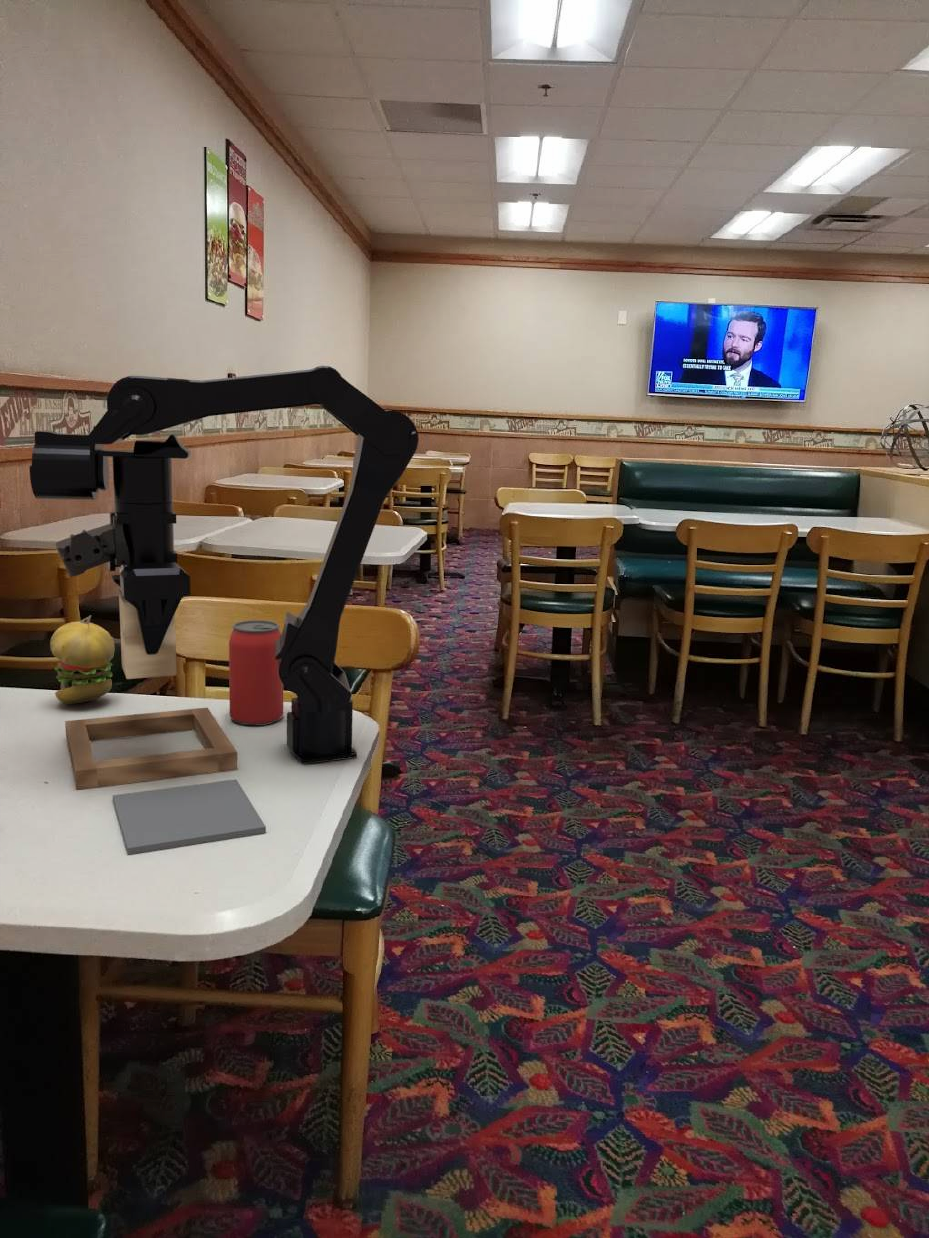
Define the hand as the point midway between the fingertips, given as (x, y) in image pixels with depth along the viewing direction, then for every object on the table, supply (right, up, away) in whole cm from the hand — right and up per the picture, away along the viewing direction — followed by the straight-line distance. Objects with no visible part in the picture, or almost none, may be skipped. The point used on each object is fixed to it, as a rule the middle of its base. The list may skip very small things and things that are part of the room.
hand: (148, 647), depth 99 cm
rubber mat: (+7, -16, -11) cm, 21 cm away
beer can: (+8, -10, +17) cm, 21 cm away
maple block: (0, -2, +1) cm, 2 cm away
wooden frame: (-1, -12, +4) cm, 12 cm away
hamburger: (-15, -8, +19) cm, 25 cm away
